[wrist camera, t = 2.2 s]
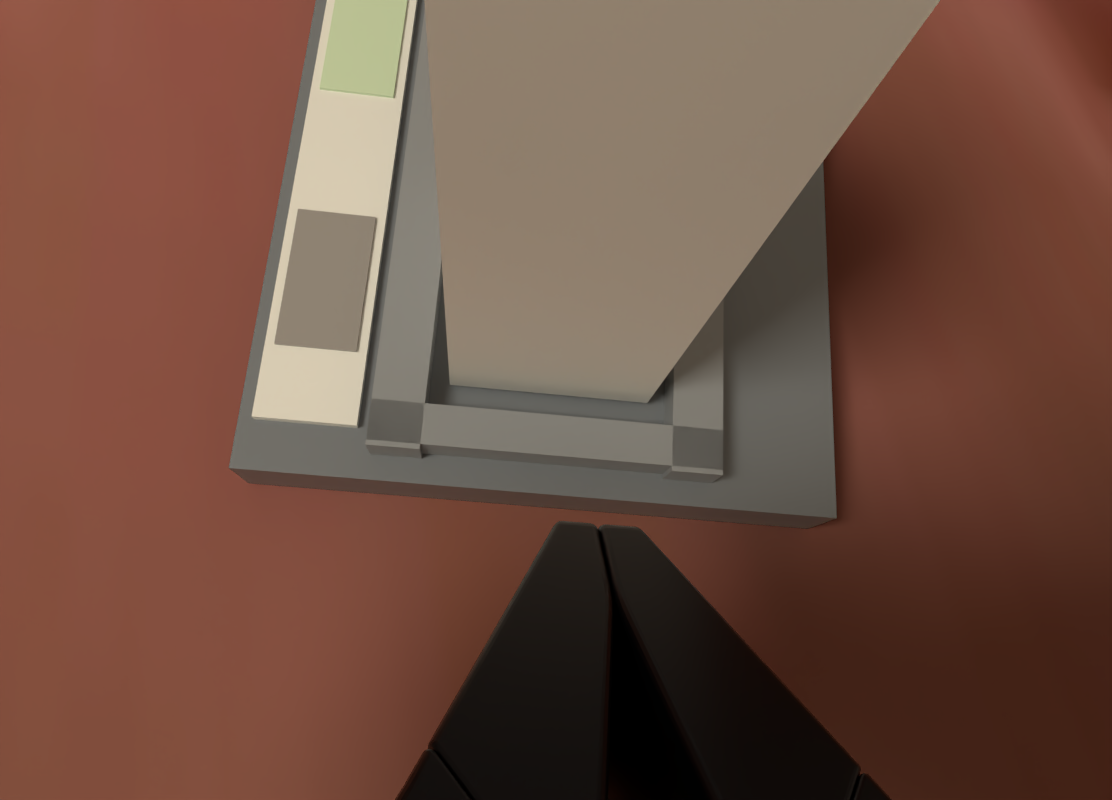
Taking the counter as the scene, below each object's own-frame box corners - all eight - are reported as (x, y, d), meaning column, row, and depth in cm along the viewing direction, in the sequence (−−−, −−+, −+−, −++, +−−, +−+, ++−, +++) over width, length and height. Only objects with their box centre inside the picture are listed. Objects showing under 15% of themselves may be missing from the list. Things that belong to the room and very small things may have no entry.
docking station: (807, 528, 18) (854, 511, 16) (248, 483, 17) (216, 459, 15) (793, 10, 22) (829, -60, 20) (343, -50, 21) (329, -129, 19)
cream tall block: (647, 402, 17) (1016, -104, 5) (449, 384, 16) (412, -193, 5) (652, 227, 18) (964, -485, 7) (469, 207, 18) (471, -578, 6)
